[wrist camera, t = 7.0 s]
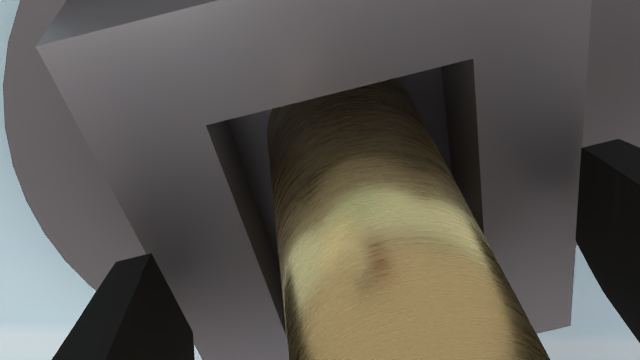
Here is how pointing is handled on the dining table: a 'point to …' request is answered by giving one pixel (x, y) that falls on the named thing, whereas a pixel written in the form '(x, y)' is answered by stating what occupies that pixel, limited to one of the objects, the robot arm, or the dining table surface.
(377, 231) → the shaft
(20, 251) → the dining table surface
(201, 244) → the hub
